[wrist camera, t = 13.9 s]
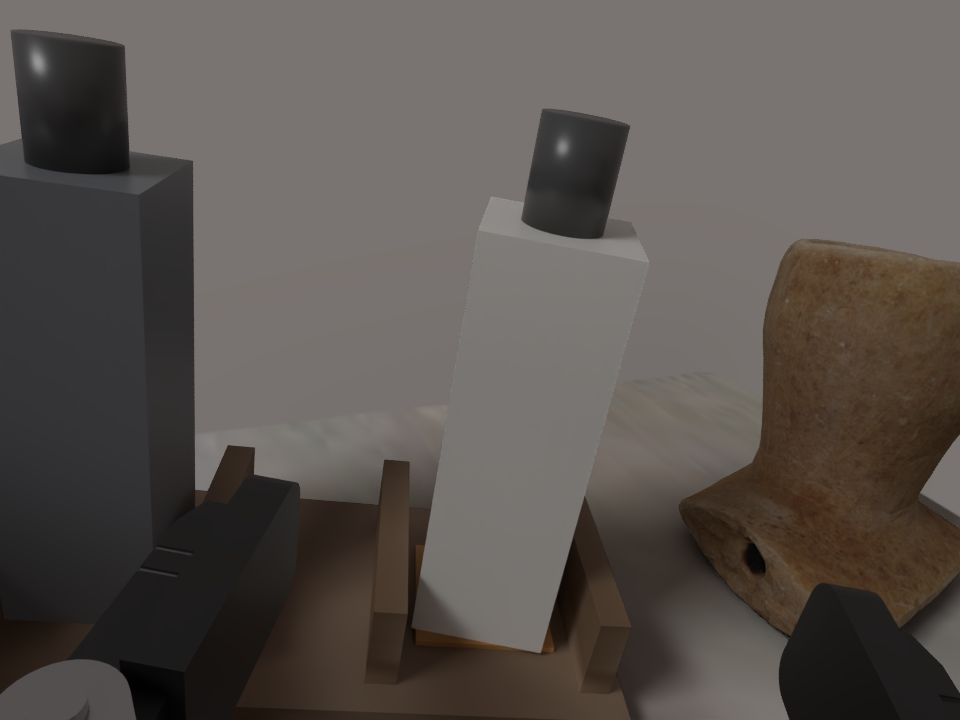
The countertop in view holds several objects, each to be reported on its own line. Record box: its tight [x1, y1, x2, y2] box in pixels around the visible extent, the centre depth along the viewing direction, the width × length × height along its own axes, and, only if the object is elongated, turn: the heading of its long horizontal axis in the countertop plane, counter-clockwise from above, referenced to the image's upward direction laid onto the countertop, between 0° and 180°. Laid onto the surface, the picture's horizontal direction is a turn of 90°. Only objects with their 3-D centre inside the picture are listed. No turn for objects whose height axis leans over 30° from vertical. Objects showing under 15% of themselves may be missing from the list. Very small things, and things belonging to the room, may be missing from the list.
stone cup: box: [679, 239, 960, 636], centre depth 31 cm, size 15×12×15 cm
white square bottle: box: [411, 109, 650, 653], centre depth 22 cm, size 4×4×17 cm
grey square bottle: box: [0, 30, 195, 624], centre depth 21 cm, size 4×4×17 cm
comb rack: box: [0, 445, 632, 720], centre depth 25 cm, size 22×10×4 cm, turn 95°
